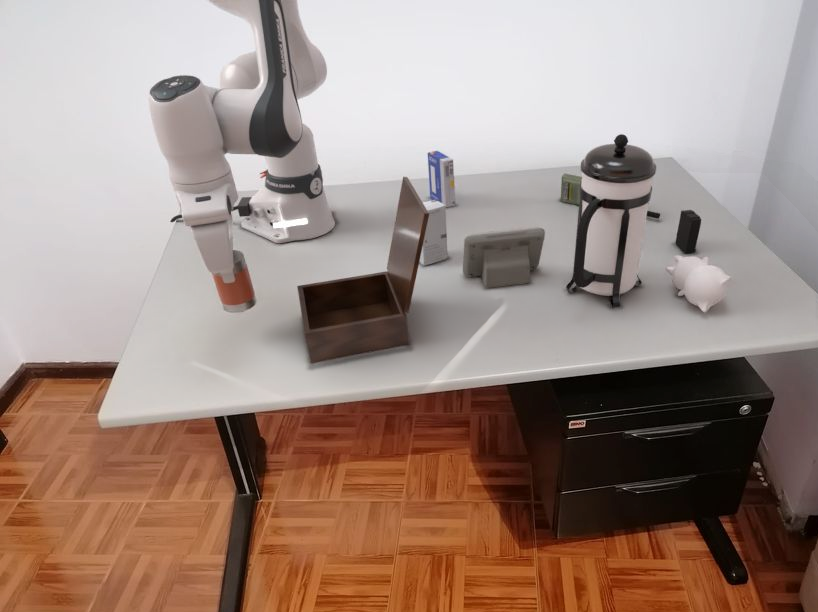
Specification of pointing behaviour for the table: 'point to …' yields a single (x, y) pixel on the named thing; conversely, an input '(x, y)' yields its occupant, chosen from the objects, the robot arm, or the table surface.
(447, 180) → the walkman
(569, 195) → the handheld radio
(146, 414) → the table surface
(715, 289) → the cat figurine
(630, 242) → the coffee press
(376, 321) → the chest
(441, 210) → the cosmetic box
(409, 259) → the lid
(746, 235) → the table surface
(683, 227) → the ink cartridge
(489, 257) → the digital clock
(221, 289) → the can
